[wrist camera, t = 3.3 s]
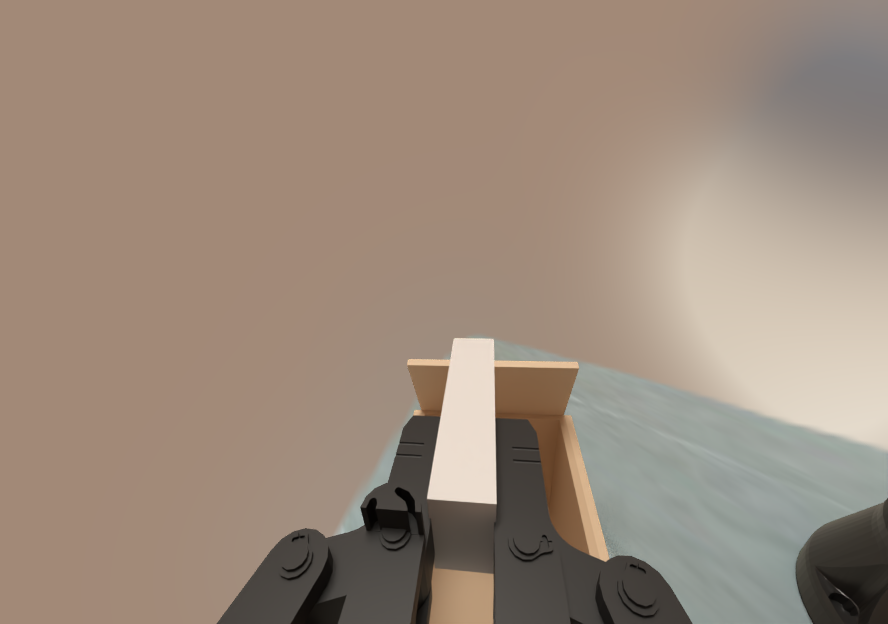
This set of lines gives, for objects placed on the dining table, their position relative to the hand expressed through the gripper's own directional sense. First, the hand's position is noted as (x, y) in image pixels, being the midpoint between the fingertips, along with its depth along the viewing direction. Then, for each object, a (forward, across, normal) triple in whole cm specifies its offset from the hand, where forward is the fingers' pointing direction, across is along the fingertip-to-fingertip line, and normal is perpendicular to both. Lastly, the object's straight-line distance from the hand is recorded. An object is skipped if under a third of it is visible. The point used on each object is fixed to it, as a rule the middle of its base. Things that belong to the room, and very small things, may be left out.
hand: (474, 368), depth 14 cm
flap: (+10, +1, -10) cm, 14 cm away
